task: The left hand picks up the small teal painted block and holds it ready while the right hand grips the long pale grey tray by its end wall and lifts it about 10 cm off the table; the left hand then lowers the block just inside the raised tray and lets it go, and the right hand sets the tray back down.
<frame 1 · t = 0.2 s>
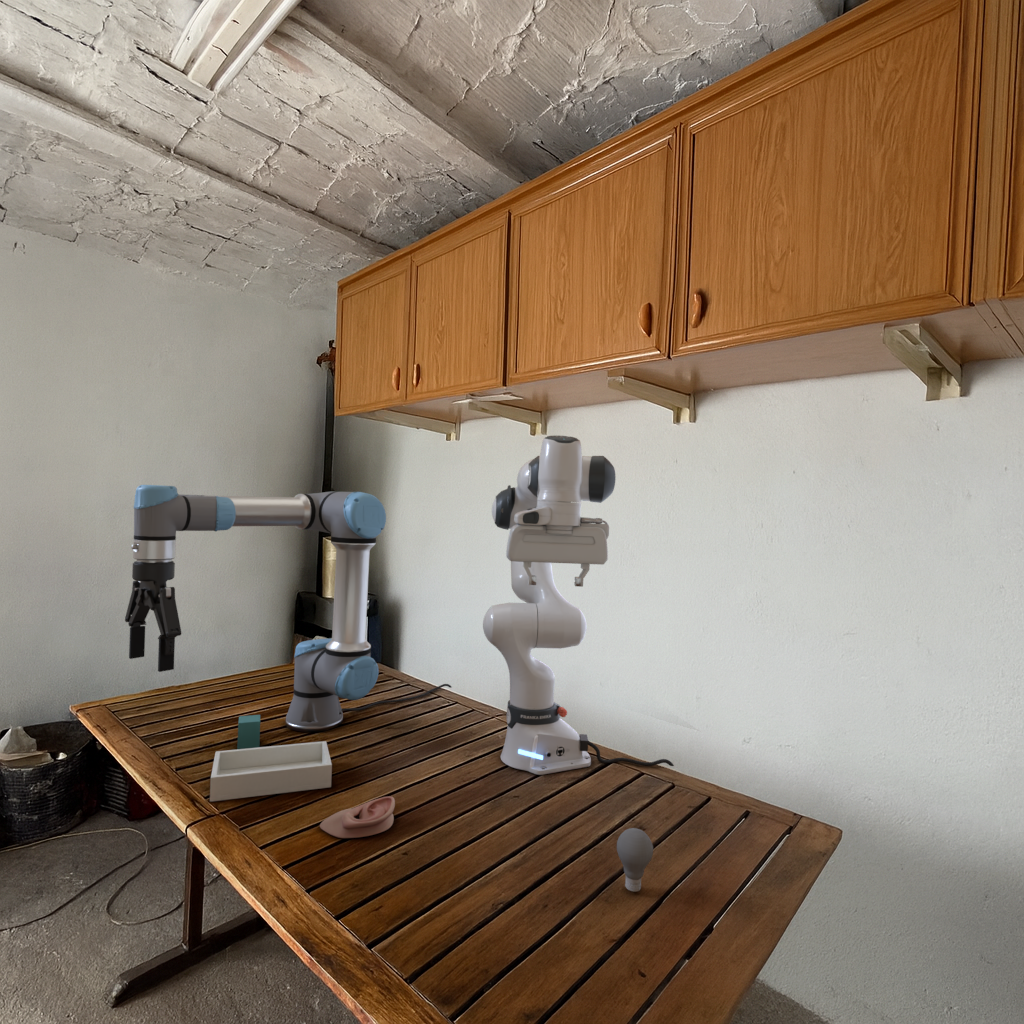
left hand: (150, 663, 130), 28 cm above the table, fingers open, 13 cm apart
right hand: (555, 585, 127), 48 cm above the table, fingers open, 8 cm apart
fossil: (329, 680, 217), on the table
tray: (272, 780, 140), on the table
block: (248, 746, 158), on the table
anatomical model: (357, 824, 123), on the table
light bulb: (632, 890, 106), on the table
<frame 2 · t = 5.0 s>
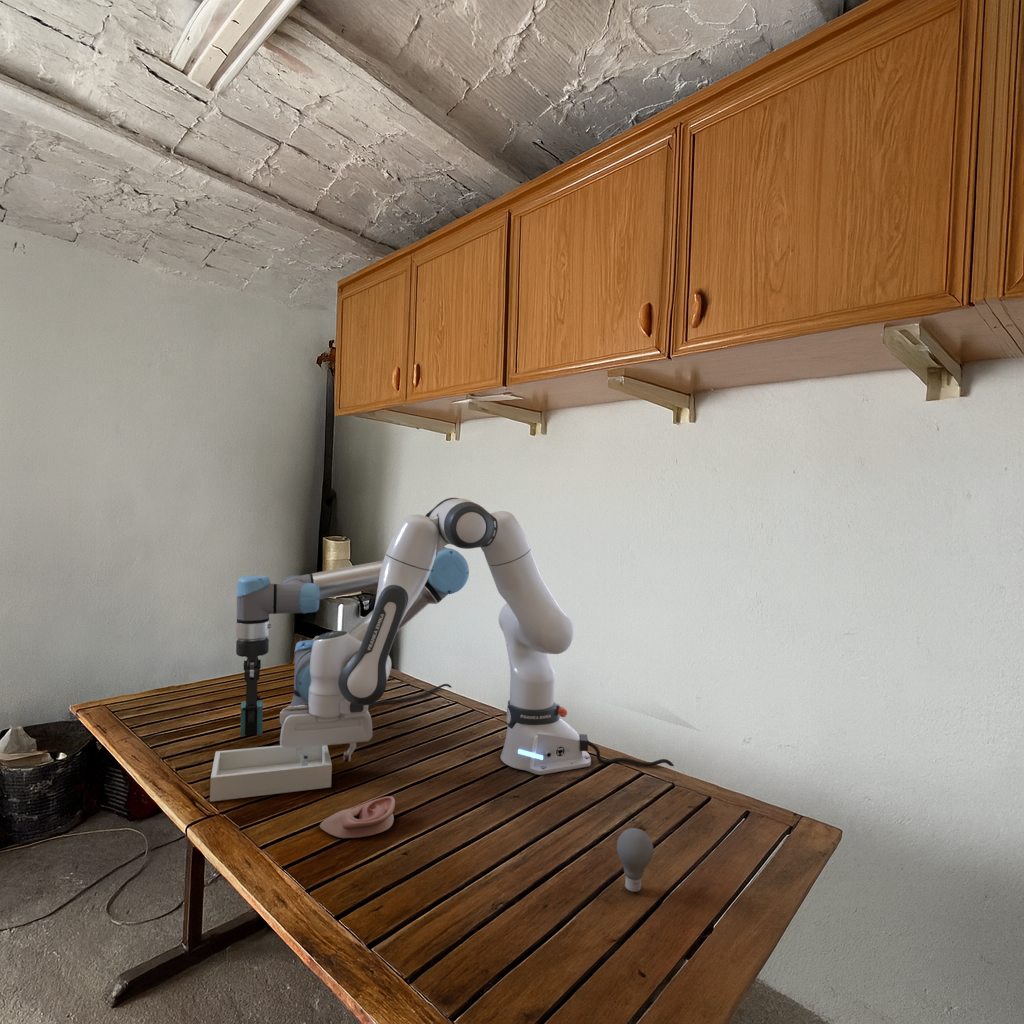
left hand: (251, 730, 158), 4 cm above the table, fingers closed on block, 5 cm apart
right hand: (325, 763, 144), 3 cm above the table, fingers open, 8 cm apart
block: (251, 731, 158), point 4 cm above the table, touching left hand
everything else where it was.
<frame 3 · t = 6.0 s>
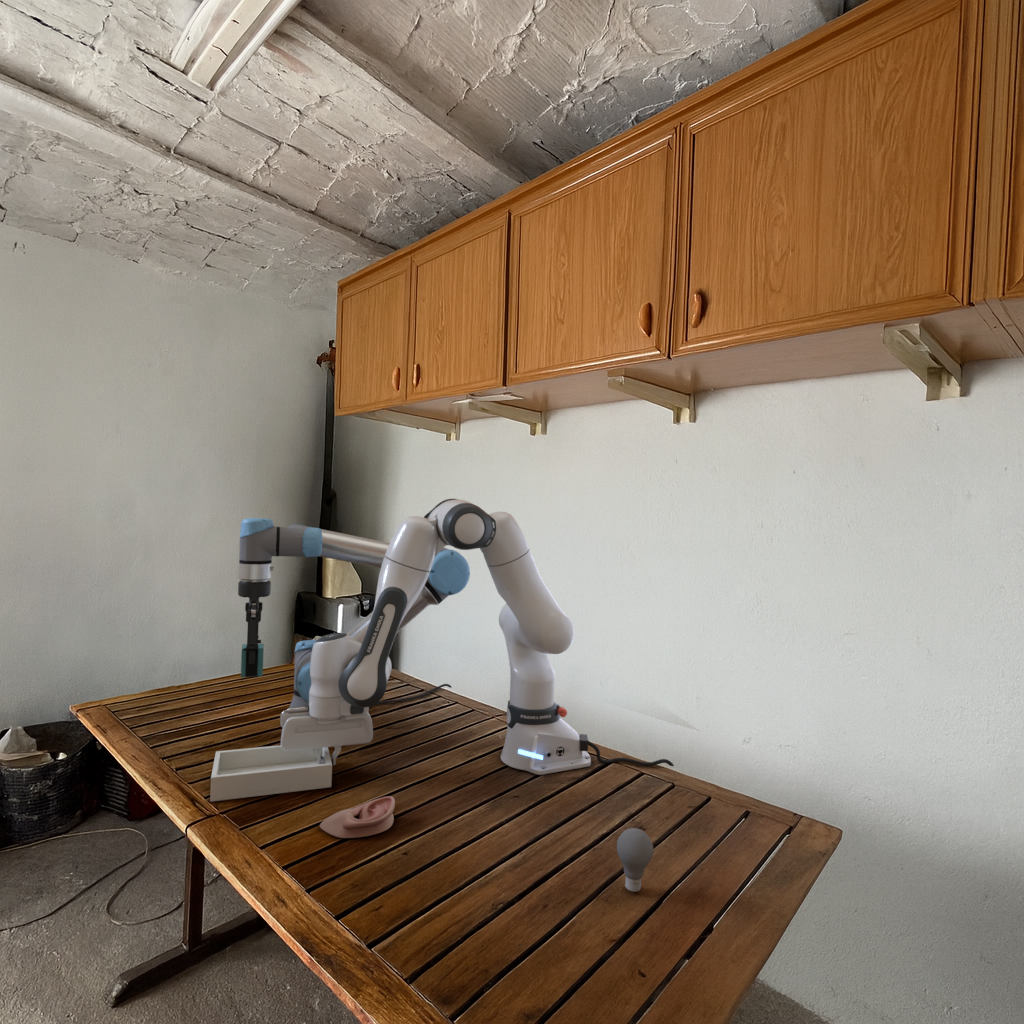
left hand: (251, 672, 158), 19 cm above the table, fingers closed on block, 5 cm apart
right hand: (326, 765, 145), 2 cm above the table, fingers closed on tray
tray: (272, 780, 140), on the table, touching right hand
block: (251, 674, 158), point 18 cm above the table, touching left hand
everything else where it was.
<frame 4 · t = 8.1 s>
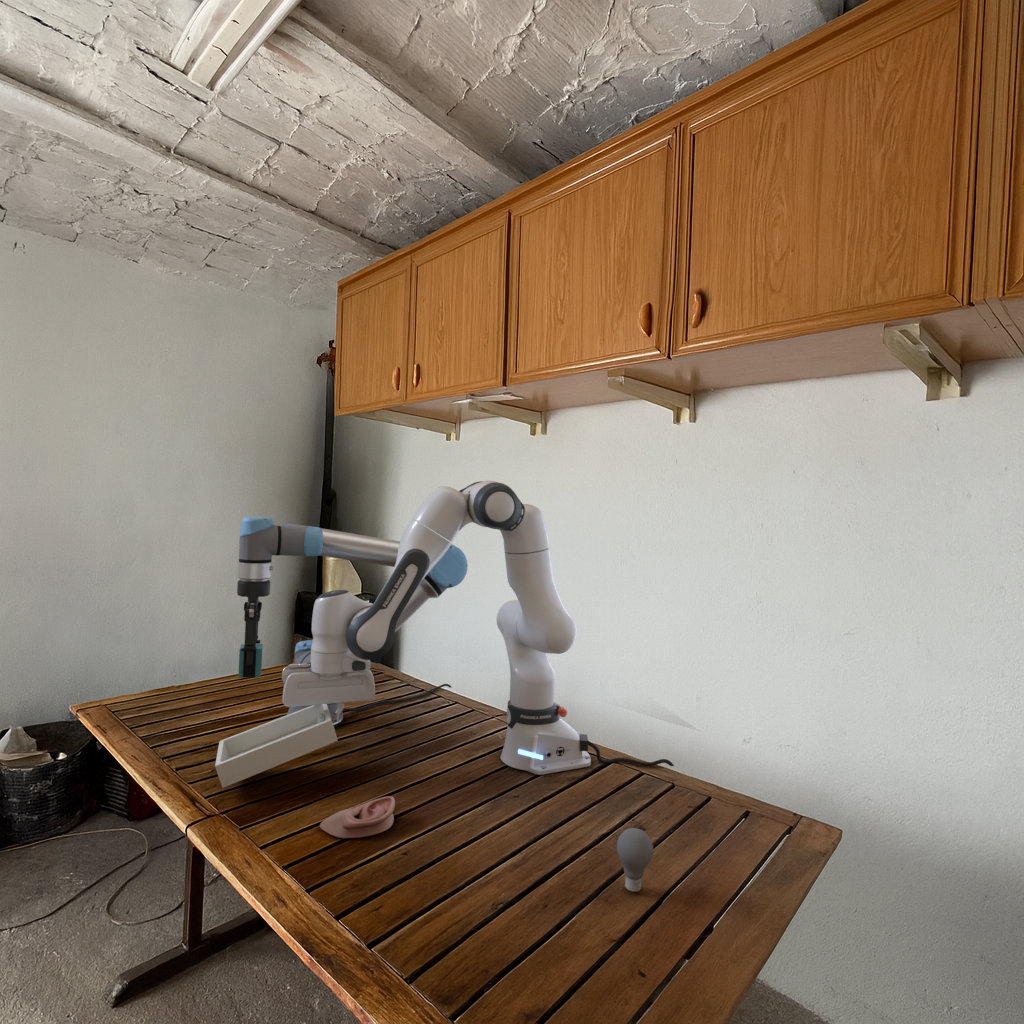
left hand: (249, 673, 156), 19 cm above the table, fingers closed on block, 5 cm apart
right hand: (328, 722, 144), 12 cm above the table, fingers closed on tray, 2 cm apart
tray: (281, 751, 141), point 6 cm above the table, tilted 18°, touching right hand
block: (250, 674, 156), point 19 cm above the table, touching left hand
everything else where it was.
when the left hand's fingers open (15 cm above the table, at t = 11.4 s): block drops 10 cm and tips over, resting on tray.
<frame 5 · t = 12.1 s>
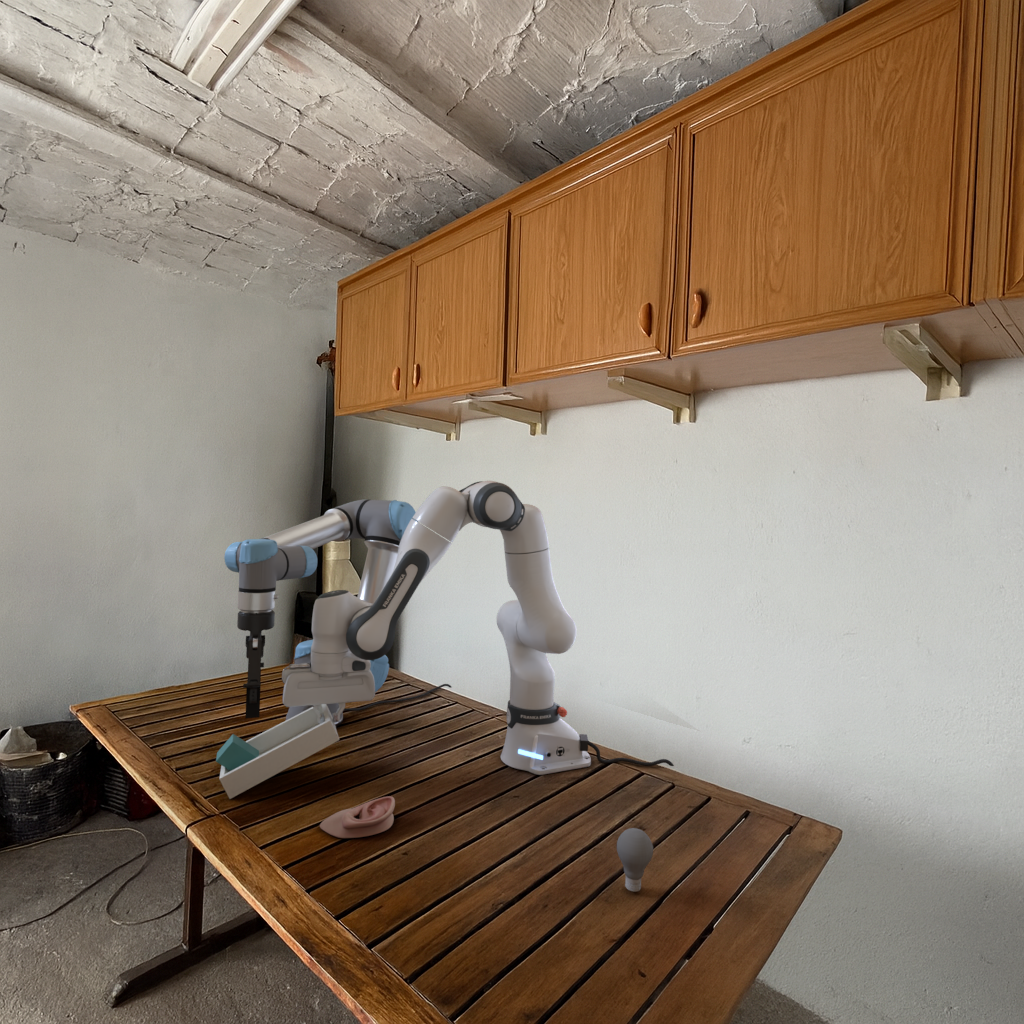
left hand: (253, 707, 138), 17 cm above the table, fingers open, 13 cm apart
right hand: (328, 722, 144), 12 cm above the table, fingers closed on tray, 2 cm apart
tray: (285, 756, 141), point 5 cm above the table, tilted 25°, touching block, right hand
block: (251, 764, 138), point 4 cm above the table, tilted 51°, touching tray
everything else where it was.
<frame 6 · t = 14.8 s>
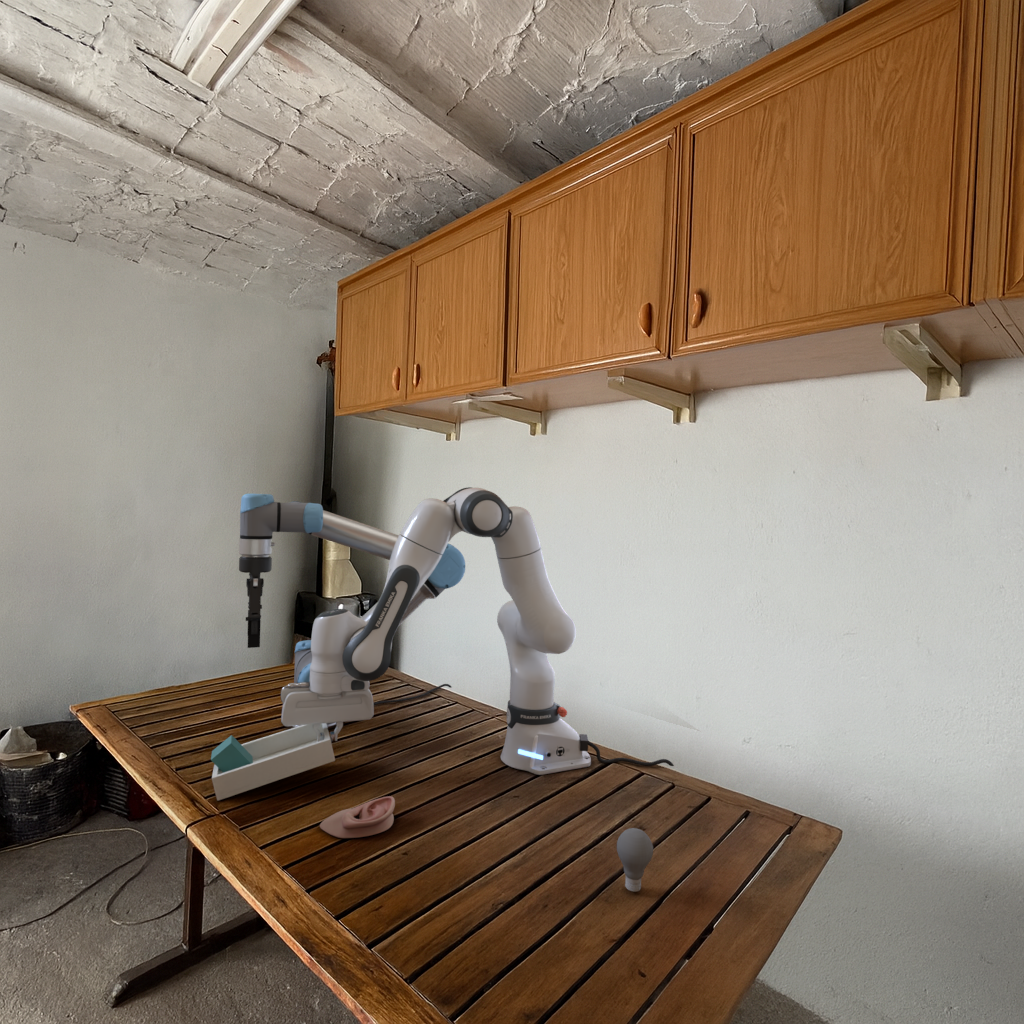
left hand: (253, 641, 157), 27 cm above the table, fingers open, 13 cm apart
right hand: (327, 741, 144), 8 cm above the table, fingers closed on tray
tray: (277, 766, 141), point 3 cm above the table, tilted 14°, touching block, right hand
block: (243, 769, 138), point 3 cm above the table, tilted 40°, touching tray
everything else where it was.
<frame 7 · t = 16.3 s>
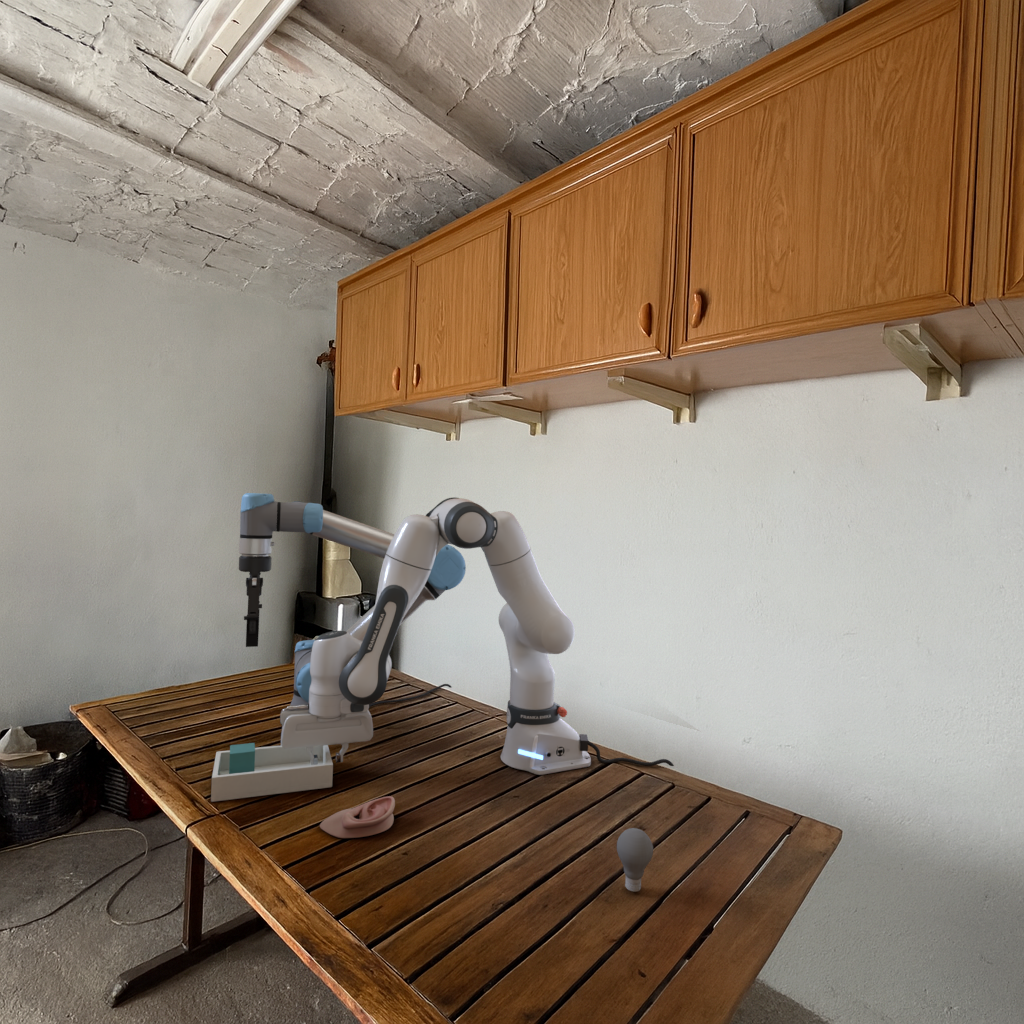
left hand: (252, 640, 158), 27 cm above the table, fingers open, 13 cm apart
right hand: (326, 762, 145), 3 cm above the table, fingers open, 4 cm apart
tray: (273, 780, 140), on the table, touching block
block: (241, 780, 138), point 1 cm above the table, touching tray
everything else where it was.
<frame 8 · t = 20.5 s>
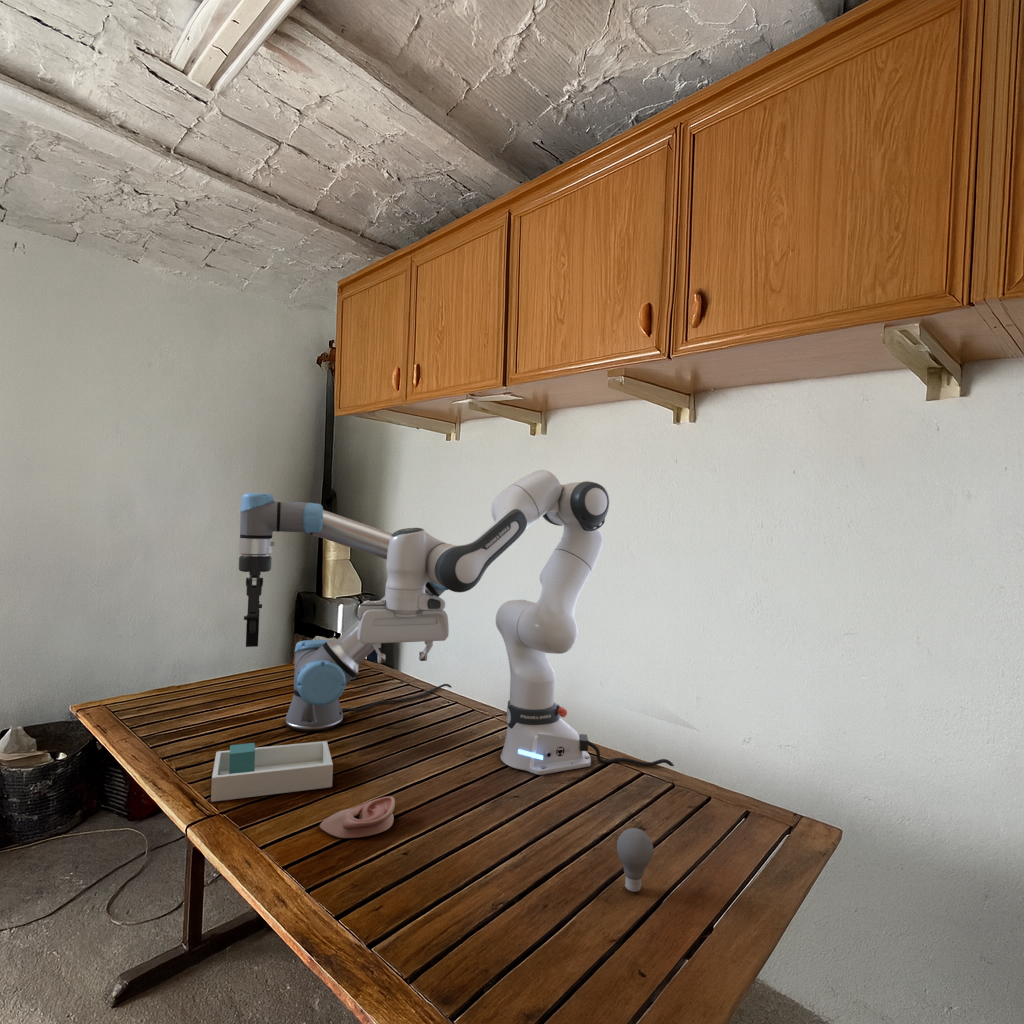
left hand: (252, 640, 158), 27 cm above the table, fingers open, 13 cm apart
right hand: (402, 661, 142), 27 cm above the table, fingers open, 8 cm apart
nothing on the table moved.
at the end: block inside the target area on the tray (6.5 cm from its centre), point 1.0 cm above the tray's base; the left hand is holding nothing; the right hand is holding nothing; tray never tilted more than 26° during the clip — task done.
